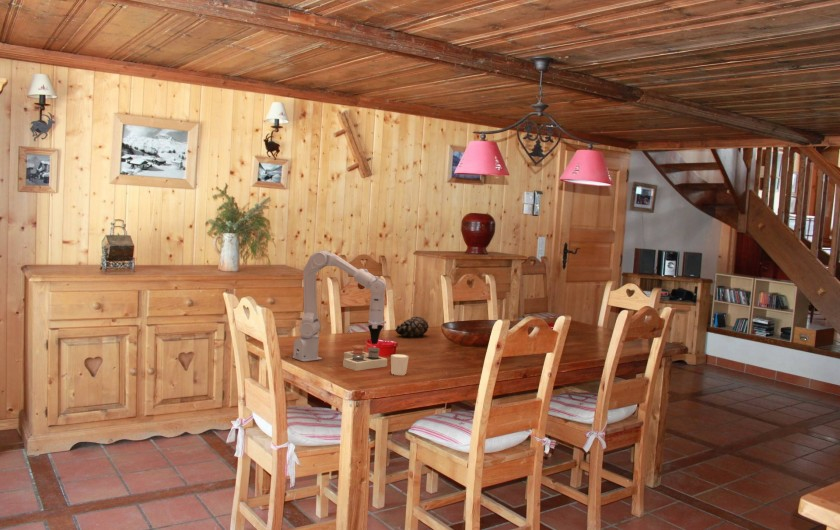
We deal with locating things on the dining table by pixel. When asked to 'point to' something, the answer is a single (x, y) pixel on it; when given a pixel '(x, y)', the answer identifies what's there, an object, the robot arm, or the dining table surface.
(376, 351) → the metal plug
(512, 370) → the dining table surface
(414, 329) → the pine cone
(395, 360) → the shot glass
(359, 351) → the terracotta plug
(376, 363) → the socket block
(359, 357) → the metal plug
